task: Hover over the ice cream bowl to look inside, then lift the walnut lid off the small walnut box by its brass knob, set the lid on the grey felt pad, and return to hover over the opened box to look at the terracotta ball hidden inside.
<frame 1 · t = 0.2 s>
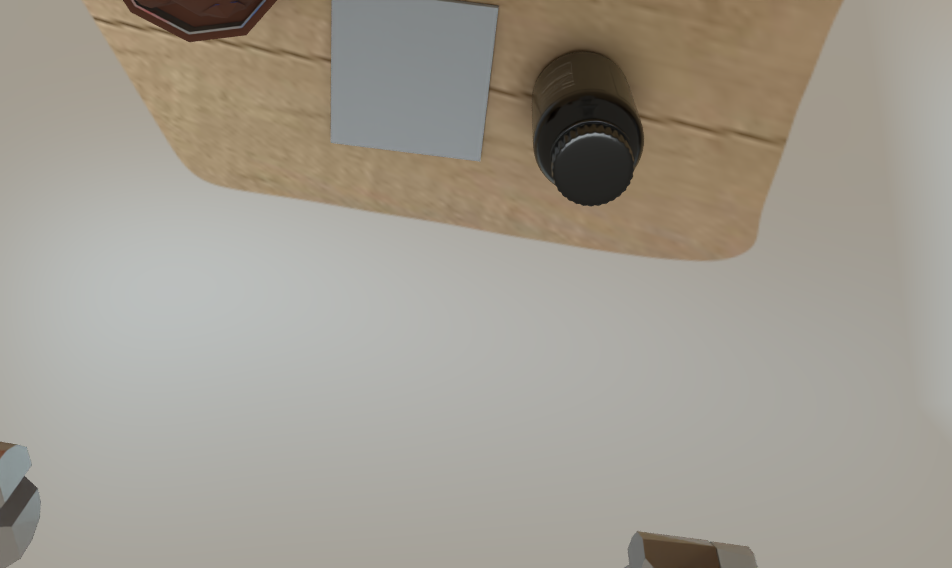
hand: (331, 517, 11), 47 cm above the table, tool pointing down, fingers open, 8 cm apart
felt pad: (411, 76, 56), on the table
supplement bottle: (580, 96, 56), on the table
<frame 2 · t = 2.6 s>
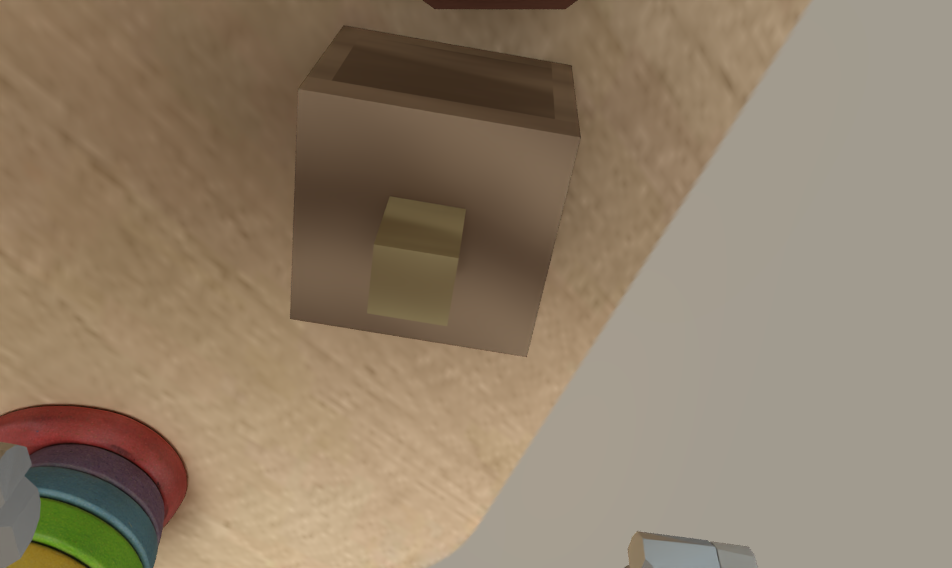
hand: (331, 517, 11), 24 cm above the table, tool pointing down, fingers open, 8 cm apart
lid: (427, 219, 29), point 6 cm above the table, touching walnut box
stacking bear: (106, 464, 46), on the table
walnut box: (442, 151, 34), on the table
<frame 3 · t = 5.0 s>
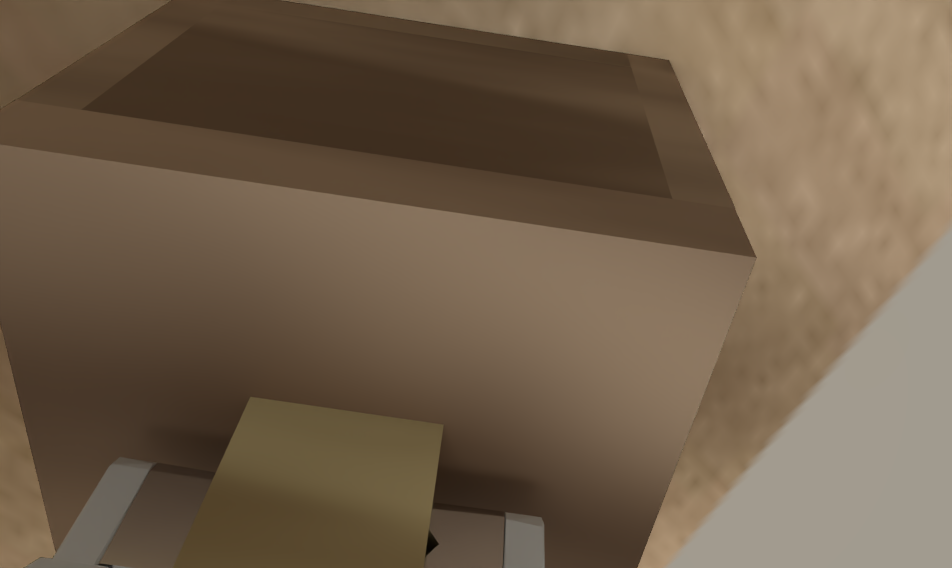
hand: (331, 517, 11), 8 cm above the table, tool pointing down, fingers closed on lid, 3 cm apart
lid: (358, 420, 12), point 6 cm above the table, touching gripper, walnut box
walnut box: (410, 231, 17), on the table
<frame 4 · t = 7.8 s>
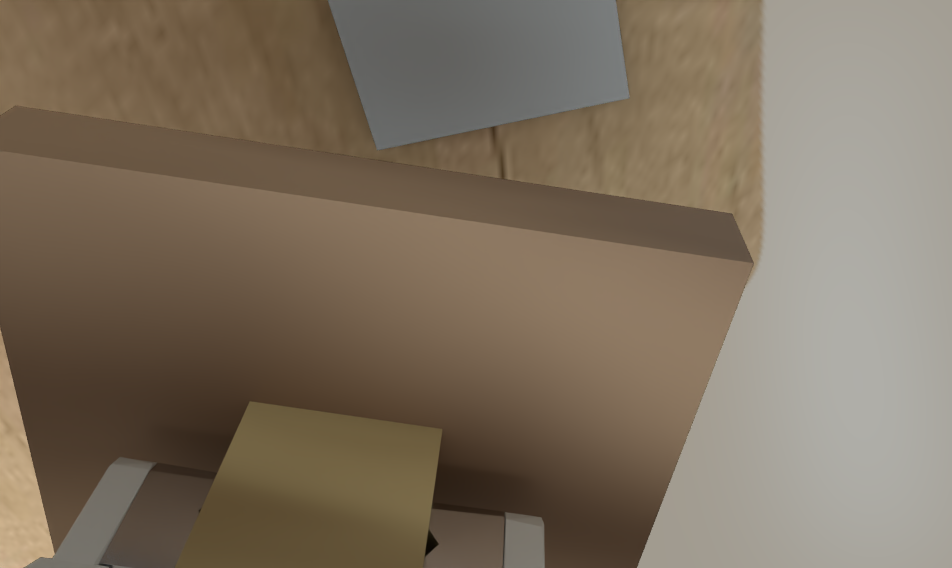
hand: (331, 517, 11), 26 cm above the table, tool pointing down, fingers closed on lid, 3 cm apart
lid: (358, 424, 12), point 24 cm above the table, touching gripper
when the fingers open (4 cm above the table, at t = 10.7 s): lid drops 2 cm, resting on felt pad.
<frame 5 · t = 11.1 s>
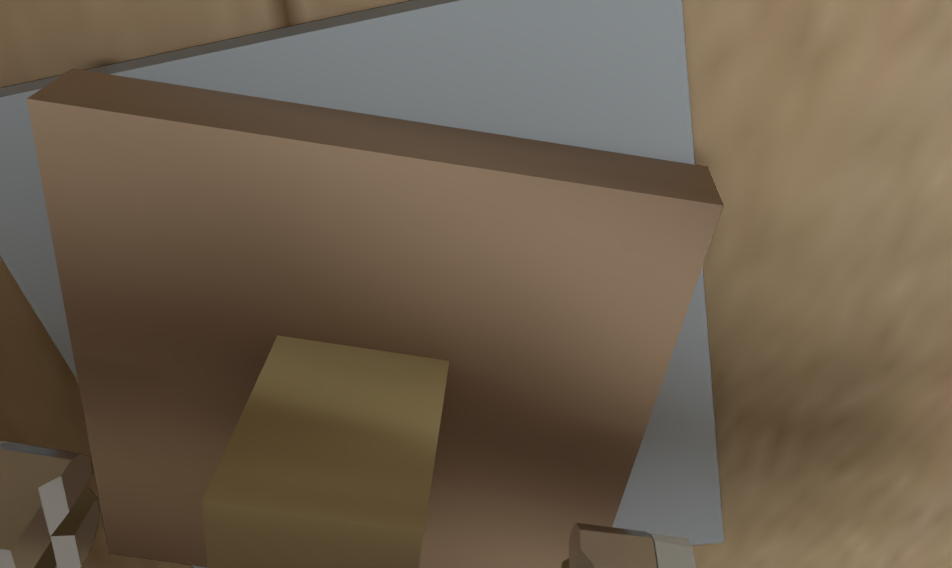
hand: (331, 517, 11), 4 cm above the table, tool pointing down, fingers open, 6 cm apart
felt pad: (382, 338, 14), on the table
lid: (371, 364, 14), point 1 cm above the table, touching felt pad
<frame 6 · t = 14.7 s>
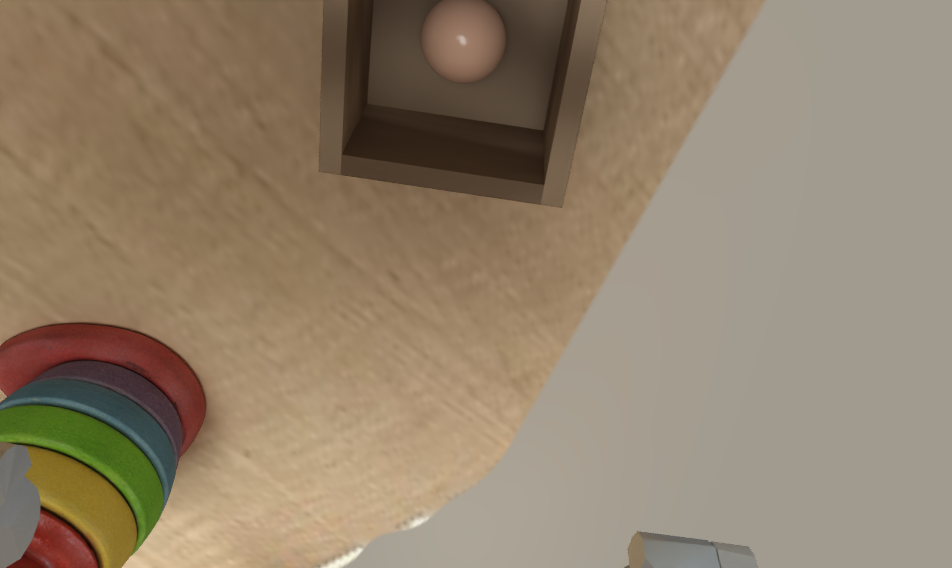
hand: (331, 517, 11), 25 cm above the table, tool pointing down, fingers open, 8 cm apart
stacking bear: (121, 389, 44), on the table
walnut box: (468, 22, 32), on the table
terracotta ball: (466, 27, 31), point 1 cm above the table, touching walnut box
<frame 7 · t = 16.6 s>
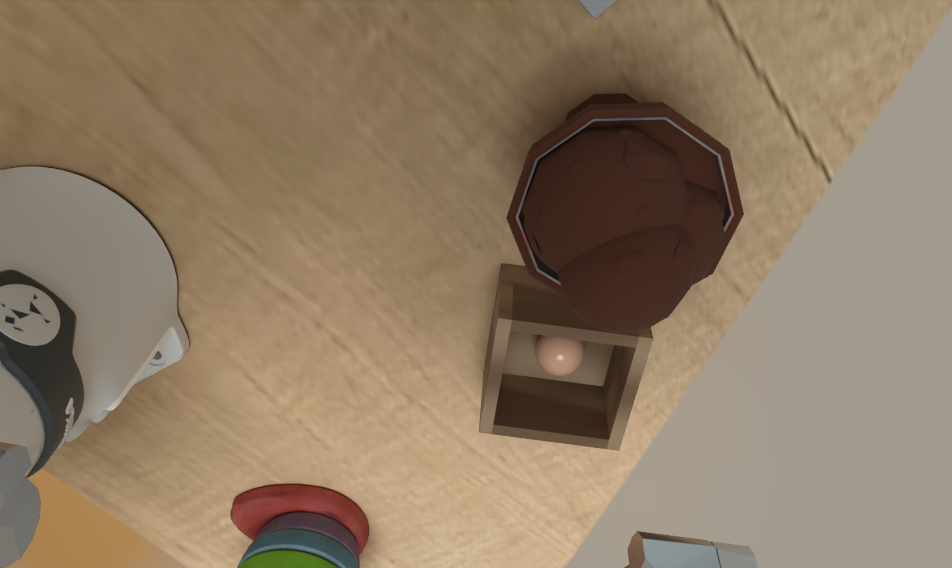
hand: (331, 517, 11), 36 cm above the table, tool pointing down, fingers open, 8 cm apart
ice cream bowl: (607, 137, 46), on the table
stacking bear: (311, 521, 66), on the table
walnut box: (558, 329, 53), on the table
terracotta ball: (559, 336, 53), point 1 cm above the table, touching walnut box
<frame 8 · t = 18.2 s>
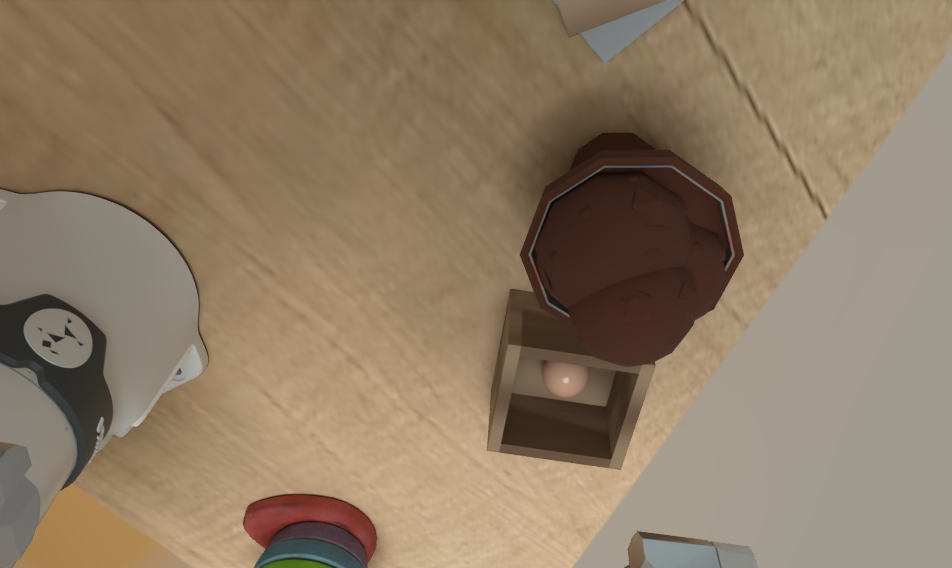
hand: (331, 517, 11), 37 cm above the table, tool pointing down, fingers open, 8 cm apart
ice cream bowl: (614, 173, 48), on the table
stacking bear: (321, 530, 68), on the table
walnut box: (564, 351, 56), on the table
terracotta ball: (564, 359, 55), point 1 cm above the table, touching walnut box
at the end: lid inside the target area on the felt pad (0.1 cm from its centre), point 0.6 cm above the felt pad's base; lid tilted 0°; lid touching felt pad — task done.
